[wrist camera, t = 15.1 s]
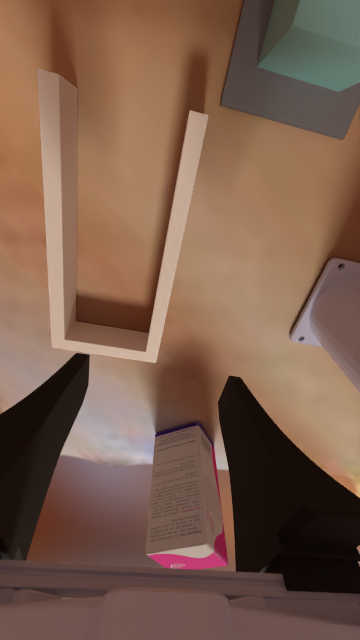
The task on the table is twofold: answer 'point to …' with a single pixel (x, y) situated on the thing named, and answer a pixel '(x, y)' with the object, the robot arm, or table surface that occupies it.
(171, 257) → the frame
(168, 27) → the table surface
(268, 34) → the block
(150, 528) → the supplement box
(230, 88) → the mat
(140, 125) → the table surface
